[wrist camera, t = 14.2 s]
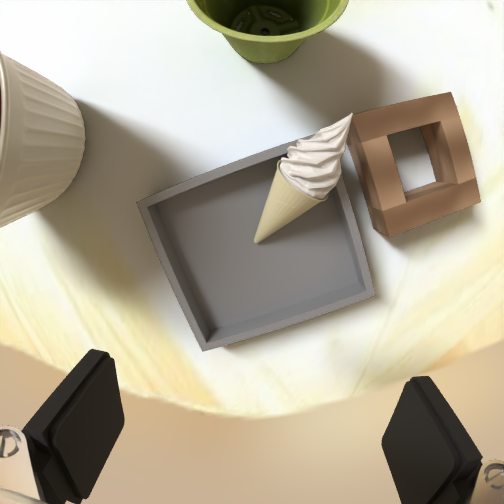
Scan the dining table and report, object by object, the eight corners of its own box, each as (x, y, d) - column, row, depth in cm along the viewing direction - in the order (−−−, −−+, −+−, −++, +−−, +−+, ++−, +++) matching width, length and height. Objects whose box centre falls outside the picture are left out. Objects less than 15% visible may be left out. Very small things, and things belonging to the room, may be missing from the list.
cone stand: (458, 197, 30) (480, 201, 26) (373, 228, 32) (389, 237, 27) (430, 99, 28) (450, 91, 23) (339, 122, 29) (351, 115, 25)
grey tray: (365, 283, 33) (375, 295, 30) (207, 335, 35) (202, 351, 32) (319, 134, 30) (326, 130, 26) (149, 198, 32) (136, 202, 28)
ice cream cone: (272, 229, 34) (362, 113, 24) (283, 267, 31) (390, 144, 21) (229, 216, 32) (316, 85, 22) (235, 256, 28) (341, 113, 19)
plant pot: (331, 82, 28) (364, 42, 17) (210, 90, 29) (185, 52, 18) (315, -12, 25) (334, -72, 14) (204, -5, 26) (182, -64, 15)
